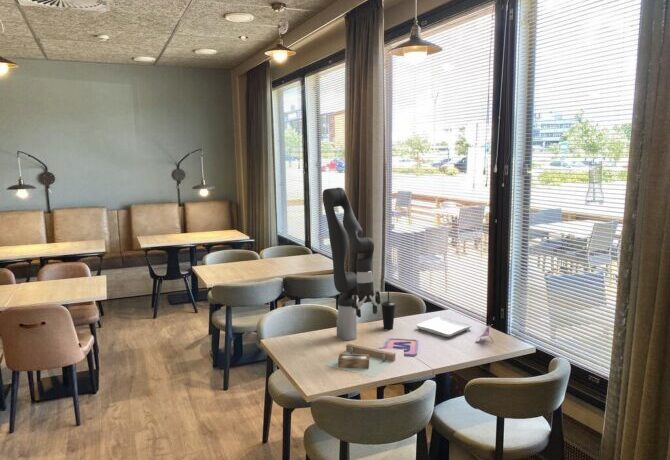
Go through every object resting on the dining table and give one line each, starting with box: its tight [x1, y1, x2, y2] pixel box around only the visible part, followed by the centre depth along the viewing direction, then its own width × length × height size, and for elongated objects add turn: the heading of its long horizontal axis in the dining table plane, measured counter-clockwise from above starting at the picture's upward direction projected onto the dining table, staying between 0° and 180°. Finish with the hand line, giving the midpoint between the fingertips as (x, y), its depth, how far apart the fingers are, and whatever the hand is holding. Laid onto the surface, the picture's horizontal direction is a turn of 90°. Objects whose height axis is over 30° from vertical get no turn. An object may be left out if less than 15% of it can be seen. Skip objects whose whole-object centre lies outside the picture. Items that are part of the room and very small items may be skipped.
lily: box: [477, 325, 495, 343], centre depth 248 cm, size 12×12×10 cm
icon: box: [374, 337, 419, 357], centre depth 243 cm, size 19×2×20 cm
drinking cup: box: [380, 290, 397, 331], centre depth 268 cm, size 8×8×20 cm
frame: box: [337, 353, 369, 369], centre depth 220 cm, size 13×6×4 cm, turn 83°
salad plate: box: [415, 315, 473, 338], centre depth 265 cm, size 21×21×3 cm
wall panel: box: [325, 343, 396, 378], centre depth 223 cm, size 24×20×4 cm
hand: (366, 315), depth 237 cm, fingers open, 8 cm apart
